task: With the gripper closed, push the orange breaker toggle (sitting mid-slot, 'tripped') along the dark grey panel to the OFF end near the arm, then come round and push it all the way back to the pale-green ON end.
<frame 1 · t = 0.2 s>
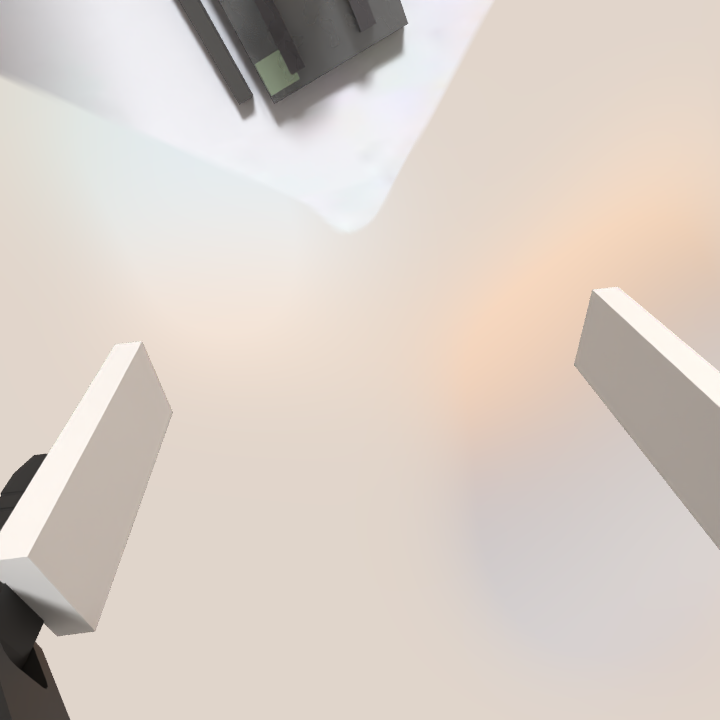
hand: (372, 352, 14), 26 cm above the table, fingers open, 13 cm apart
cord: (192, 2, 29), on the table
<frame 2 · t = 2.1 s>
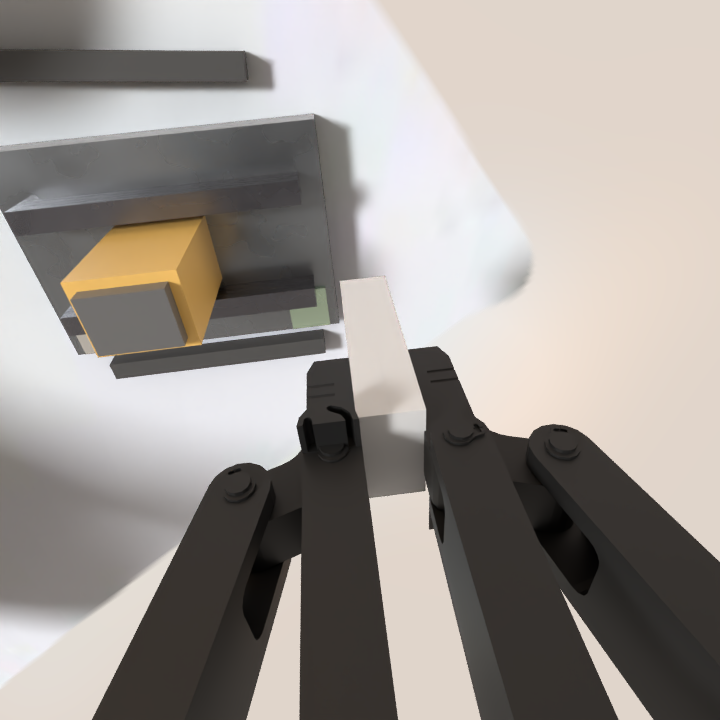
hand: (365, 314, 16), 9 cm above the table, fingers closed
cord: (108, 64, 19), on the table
toggle: (153, 283, 19), point 5 cm above the table, slide at 3.0 cm, touching panel
panel: (188, 239, 23), on the table
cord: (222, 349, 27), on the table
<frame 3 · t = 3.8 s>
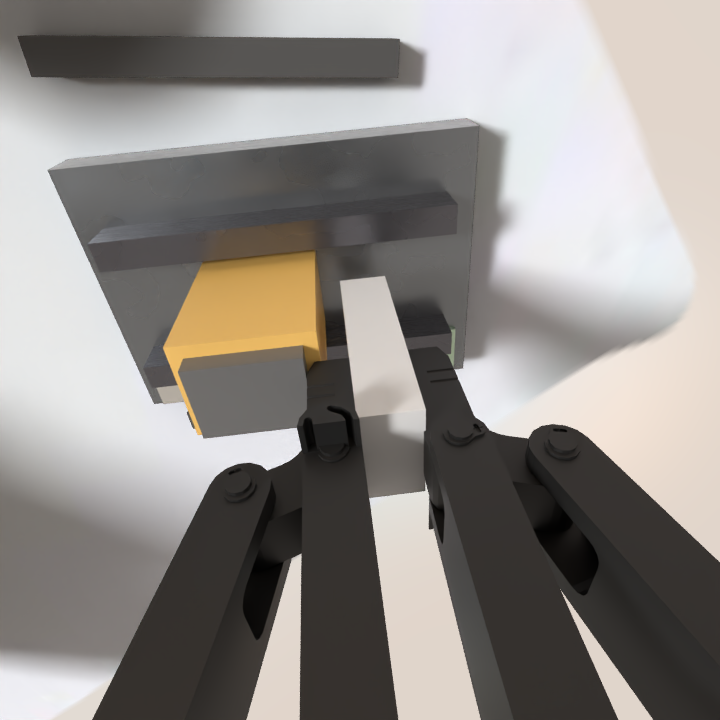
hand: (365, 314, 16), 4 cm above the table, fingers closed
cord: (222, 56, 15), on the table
toggle: (261, 334, 15), point 5 cm above the table, slide at 2.6 cm, touching gripper, panel
panel: (292, 270, 19), on the table
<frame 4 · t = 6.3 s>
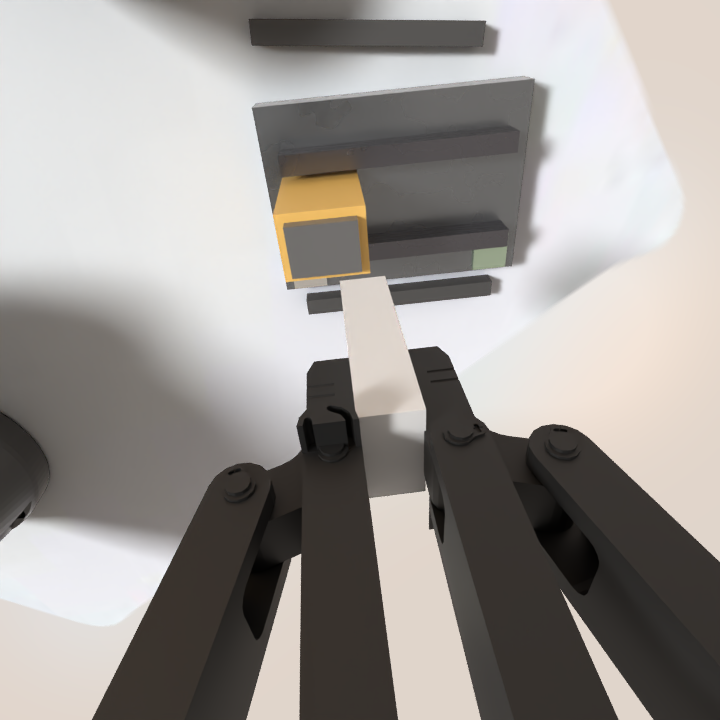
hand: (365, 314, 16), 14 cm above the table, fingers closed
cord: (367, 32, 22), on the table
toggle: (323, 224, 23), point 5 cm above the table, slide at -0.6 cm, touching panel
panel: (393, 188, 27), on the table
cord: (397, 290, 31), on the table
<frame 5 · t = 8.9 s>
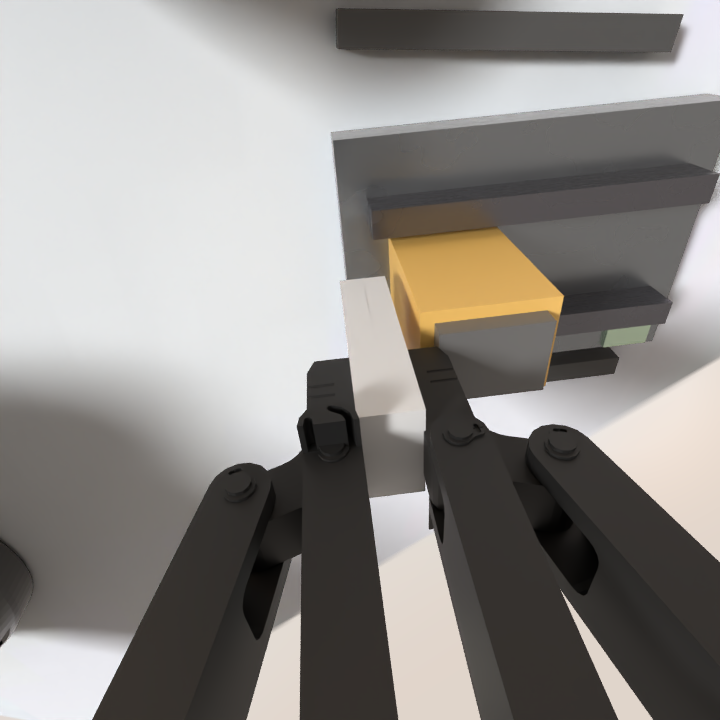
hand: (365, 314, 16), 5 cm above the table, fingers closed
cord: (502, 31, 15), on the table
toggle: (462, 307, 16), point 5 cm above the table, slide at 0.2 cm, touching gripper, panel
panel: (506, 243, 20), on the table
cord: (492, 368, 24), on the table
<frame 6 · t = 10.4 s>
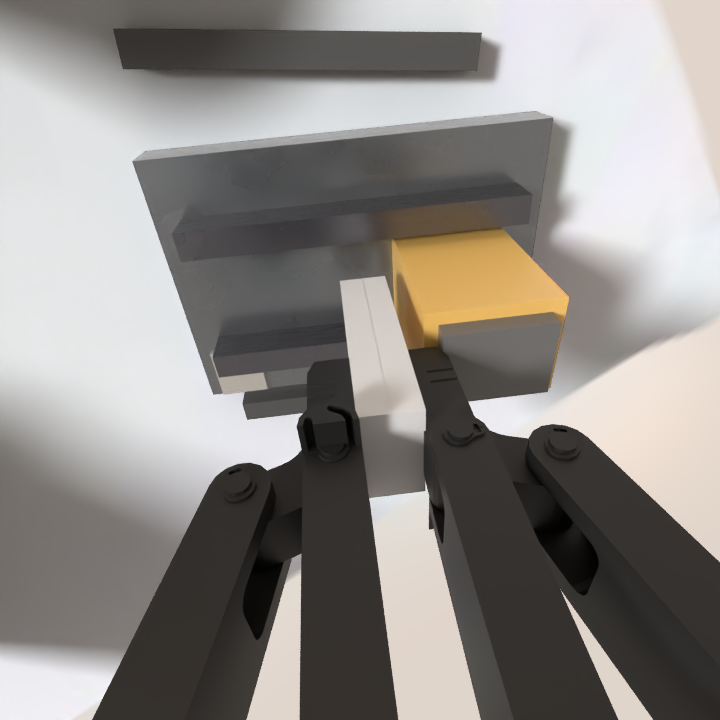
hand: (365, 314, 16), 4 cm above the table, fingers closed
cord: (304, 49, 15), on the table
toggle: (466, 308, 16), point 5 cm above the table, slide at 6.9 cm, touching gripper, panel
panel: (354, 261, 19), on the table
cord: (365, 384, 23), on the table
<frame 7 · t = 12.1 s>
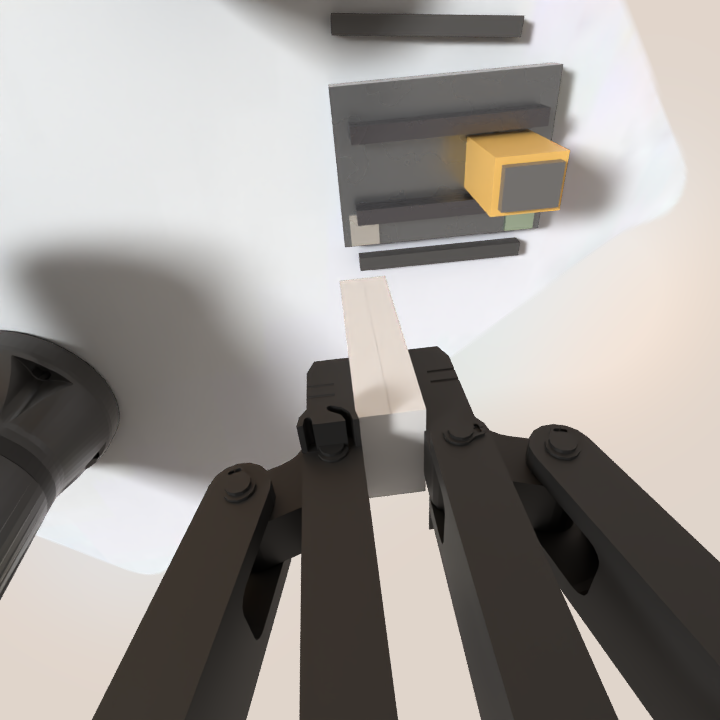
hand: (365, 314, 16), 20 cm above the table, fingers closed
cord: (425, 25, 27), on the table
toggle: (512, 172, 28), point 5 cm above the table, slide at 6.9 cm, touching panel
panel: (439, 159, 31), on the table
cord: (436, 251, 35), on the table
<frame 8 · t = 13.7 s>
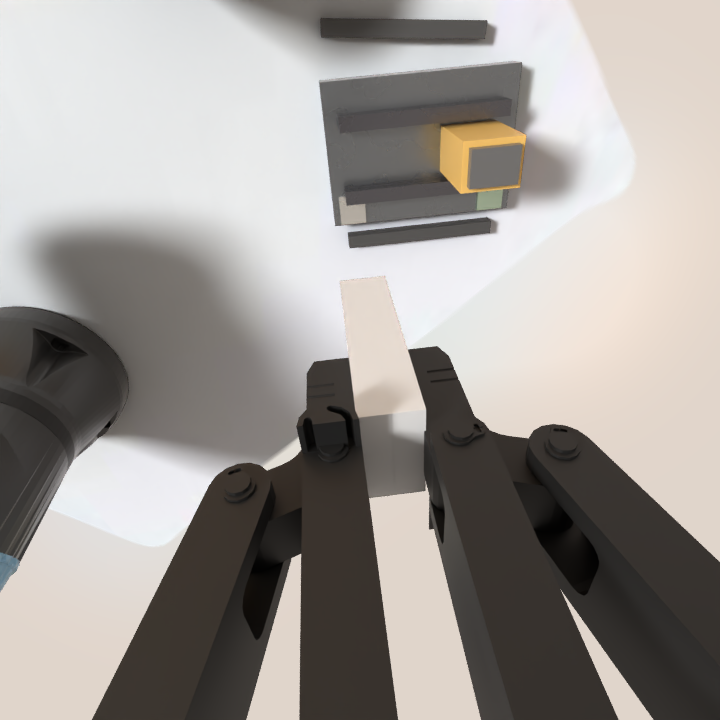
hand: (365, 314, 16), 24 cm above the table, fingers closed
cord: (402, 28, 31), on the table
toggle: (479, 155, 32), point 5 cm above the table, slide at 6.9 cm, touching panel
panel: (417, 146, 36), on the table
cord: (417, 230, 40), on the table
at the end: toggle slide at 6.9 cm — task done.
